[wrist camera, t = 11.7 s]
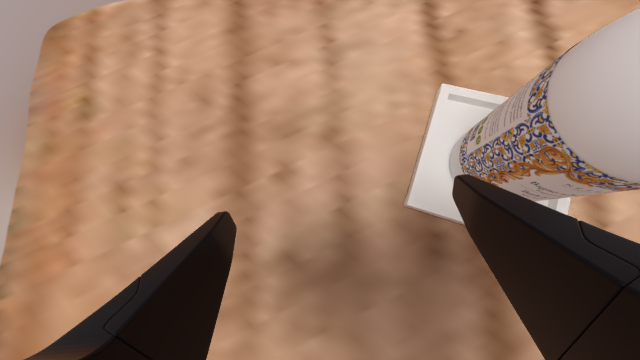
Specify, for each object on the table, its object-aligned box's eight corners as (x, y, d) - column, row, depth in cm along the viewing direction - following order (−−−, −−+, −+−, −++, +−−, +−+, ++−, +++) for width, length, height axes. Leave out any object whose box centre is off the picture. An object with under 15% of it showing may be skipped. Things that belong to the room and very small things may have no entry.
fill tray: (571, 122, 21) (588, 114, 20) (543, 249, 20) (559, 252, 19) (436, 92, 24) (442, 83, 22) (403, 206, 22) (407, 204, 21)
